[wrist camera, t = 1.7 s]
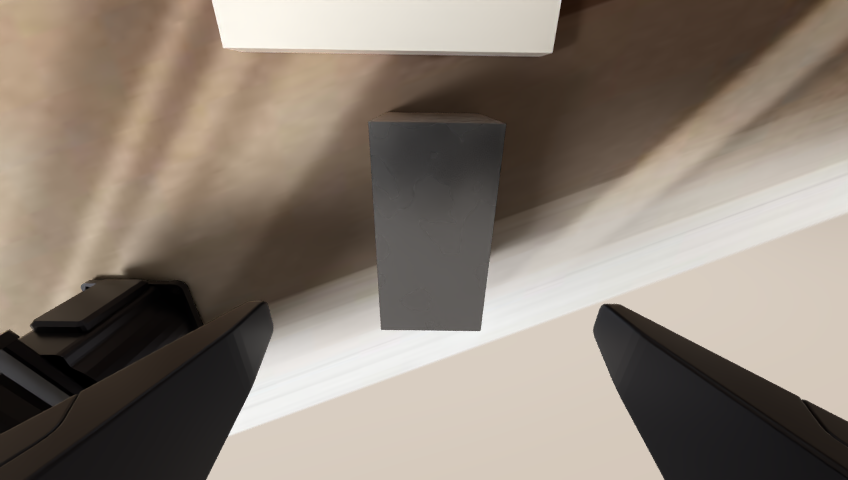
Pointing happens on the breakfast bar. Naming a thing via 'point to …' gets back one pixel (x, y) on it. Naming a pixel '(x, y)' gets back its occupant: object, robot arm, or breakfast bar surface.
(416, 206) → the block
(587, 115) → the breakfast bar surface
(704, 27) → the breakfast bar surface
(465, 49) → the pin tray
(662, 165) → the breakfast bar surface
